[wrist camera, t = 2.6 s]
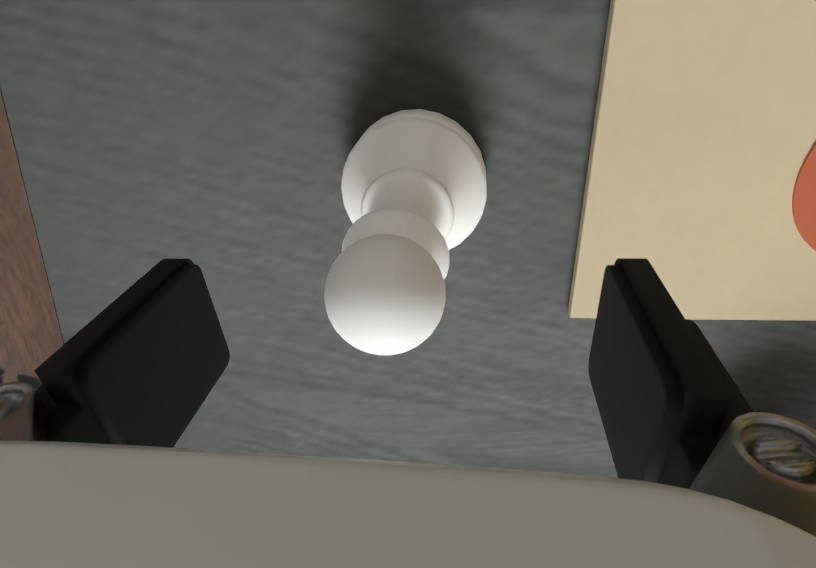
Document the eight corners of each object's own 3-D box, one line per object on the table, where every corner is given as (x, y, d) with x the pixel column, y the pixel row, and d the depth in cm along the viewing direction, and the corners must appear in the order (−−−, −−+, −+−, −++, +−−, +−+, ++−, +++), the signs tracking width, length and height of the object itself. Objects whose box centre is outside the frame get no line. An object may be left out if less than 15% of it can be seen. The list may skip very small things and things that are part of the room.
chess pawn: (456, 255, 19) (447, 437, 11) (336, 214, 19) (245, 375, 11) (508, 135, 16) (540, 273, 9) (369, 85, 16) (276, 184, 8)
